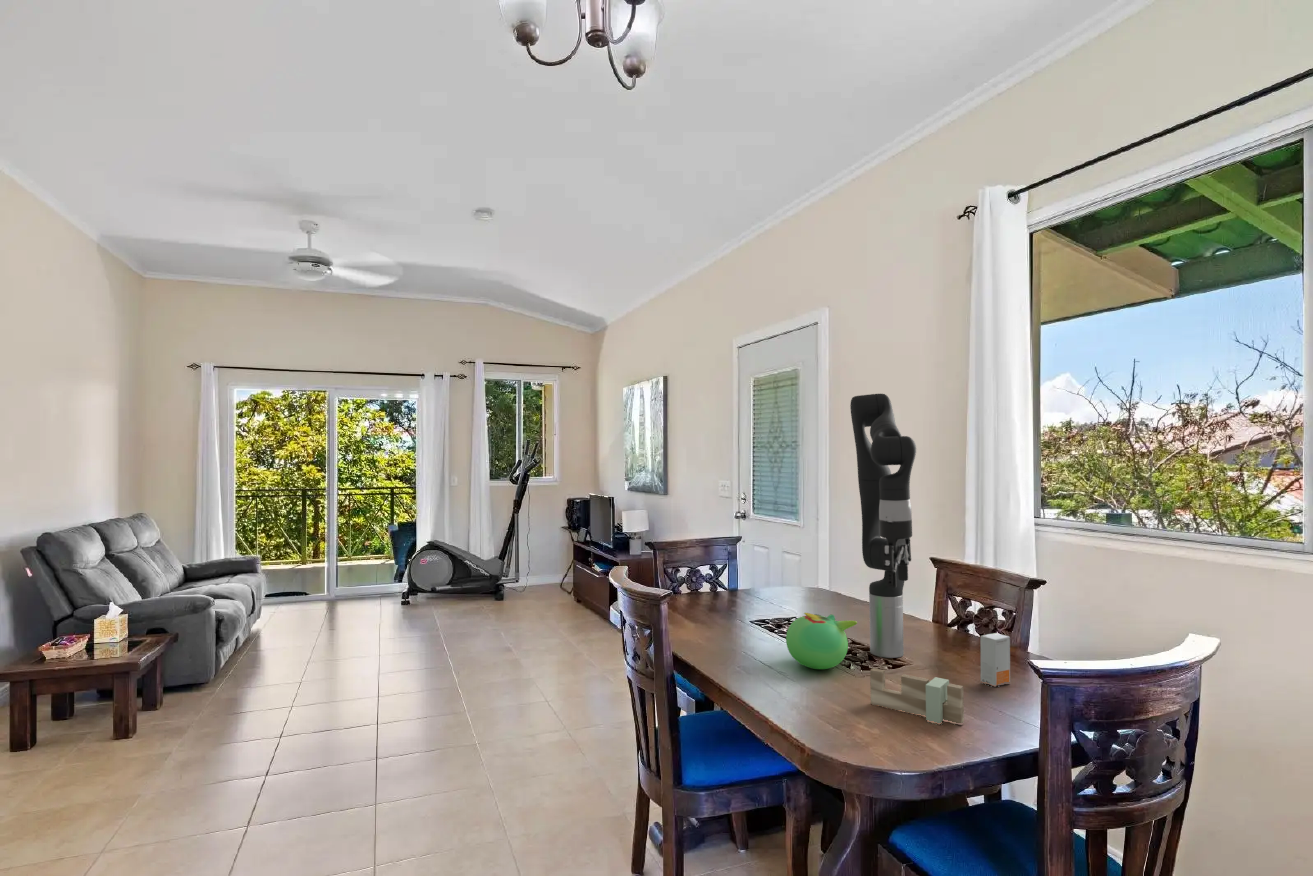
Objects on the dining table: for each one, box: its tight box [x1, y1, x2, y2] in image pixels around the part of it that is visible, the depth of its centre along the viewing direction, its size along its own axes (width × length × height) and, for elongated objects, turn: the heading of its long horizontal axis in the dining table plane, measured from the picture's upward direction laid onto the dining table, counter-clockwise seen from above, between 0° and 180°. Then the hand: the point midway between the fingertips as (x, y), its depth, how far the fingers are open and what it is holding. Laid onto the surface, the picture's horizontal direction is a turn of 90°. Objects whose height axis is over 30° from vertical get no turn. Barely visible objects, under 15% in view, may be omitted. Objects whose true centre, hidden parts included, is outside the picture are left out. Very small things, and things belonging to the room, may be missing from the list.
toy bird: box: [785, 612, 858, 670], centre depth 187 cm, size 18×17×15 cm
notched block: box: [925, 676, 950, 723], centre depth 151 cm, size 6×3×8 cm, turn 140°
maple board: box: [869, 667, 965, 723], centre depth 154 cm, size 2×20×8 cm, turn 50°
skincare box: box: [980, 632, 1011, 685], centre depth 173 cm, size 6×4×12 cm
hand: (897, 583), depth 168 cm, fingers open, 8 cm apart
